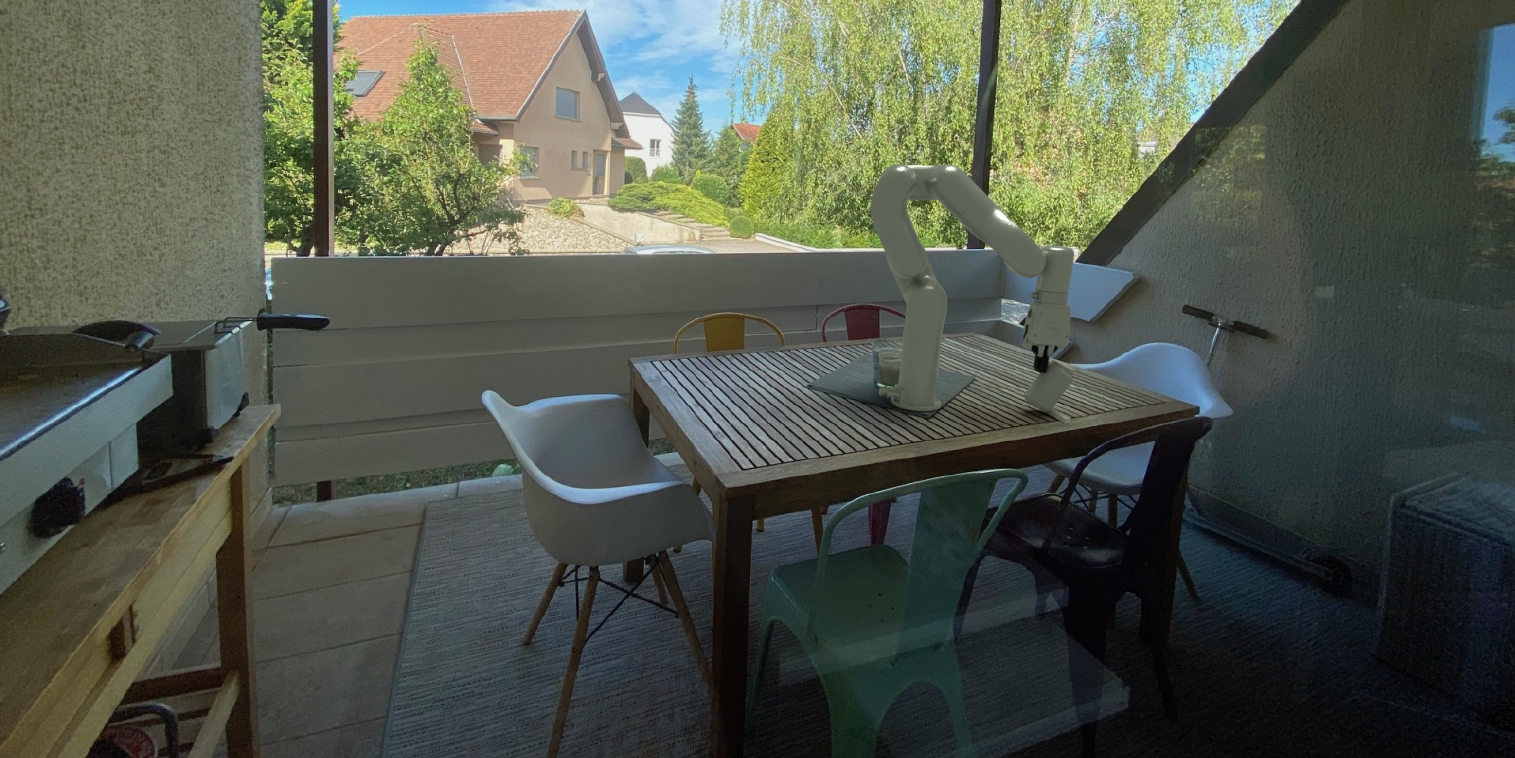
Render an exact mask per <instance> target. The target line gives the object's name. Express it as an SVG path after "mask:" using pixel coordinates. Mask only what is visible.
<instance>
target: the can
mask: <svg viewBox="0 0 1515 758" xmlns="http://www.w3.org/2000/svg"><path fill="white" fill-rule="evenodd" d="M1074 376H1075V373H1074V372H1073V371H1071V370H1070V369H1069V368H1067V367H1066V366H1064V365H1063V364H1062V363H1060V362H1058V361H1055V360H1051V362H1049V364H1048V368H1047V371H1046V373H1043V372H1042V373H1039V372H1038V374H1037V376H1036V377H1035V379H1034V380H1033V382H1032V383H1031V384H1030V385H1029V387H1028V388H1027V389H1026V391H1025V392H1024V394H1023V397H1024V401H1026V402H1028V403H1029V404H1030V405H1032V406H1033V407H1035V408H1036V409H1038V410H1039V411H1041V412H1043V413H1047V412H1050V411H1051V410H1052V408H1054V407H1055V405H1056V404H1057V403H1058V401H1059V400H1060V399H1061V398H1062V396H1063V395H1064V393H1065V392H1066V391H1067V390H1068V388H1069V387H1070V386H1071V384H1073V382H1074V378H1073V377H1074Z"/></svg>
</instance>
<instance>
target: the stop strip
mask: <svg viewBox="0 0 1515 758" xmlns="http://www.w3.org/2000/svg"><path fill="white" fill-rule="evenodd" d="M1046 414H1048V415H1050V416H1052V417H1053V418H1055V419H1056V420H1058V421H1059V422H1061V423H1063V424H1065V425H1067V424H1069V425H1071V424H1072V418H1070V417H1069V416H1067V415H1066V414H1064V413H1062V412H1061V411H1059V410H1057V409H1055V408H1054V407H1053V408H1052V410H1051V411H1050V412H1046Z"/></svg>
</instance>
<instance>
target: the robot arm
mask: <svg viewBox="0 0 1515 758" xmlns="http://www.w3.org/2000/svg"><path fill="white" fill-rule="evenodd" d="M870 200H871V201H870V216H871V221H872V223H873V226H874V229H875V231H876V234H877V236H878V238H879V242H880V244H881V246H882V248H883V250H884V253H885V255H886V261H887V265H888V267H889V270H890V271H891V273H892V276H893V278H894V280H895V283H896V284H897V287H898V289H899V291H900V293H901V296H902V297H903V299H904V302H905V303H906V310H905V311H906V312H905V318H904V325H903V333H902V342H901V343H902V345H901V354H900V355H901V356H900V357H901V358H900V365H899V366H900V367H899V375H898V383H894V387H893V386H892V387H890V388H887V387H880V388H879V389H878V395H879V396H880V397H881V396H883V397H885V396H886V398H890V403H891V404H892V405H893V406H895V407H898V408H900V409H904V410H908V411H913V412H914V411H916V412H933V411H937V410H939V409H940V408H941V407H942V402H941V400H939V399H938V398H936V396H937V388H938V378H939V369H940V368H939V367H940V360H941V353H942V352H941V351H942V342H943V335H944V328H945V327H944V326H945V322H946V317H947V311H948V297H947V296H948V295H947V293H946V291H945V289H944V287H943V286H942V285H941V284H940V283H939V281H938V280H937V276H936V275H935V272H934V271H933V269H932V268H933V267H932V266H931V264H930V262H929V260H928V258H929V257H928V253H927V251H926V248H925V247H924V246H923V244H922V242H921V240H920V239H919V236H918V233H917V232H916V230H915V227H914V225H913V222H912V220H911V218H910V215H909V212H908V201H938V202H940V204H942V206H944V208H946V210H948V211H949V213H950V214H952V215H953V217H954V218H956V219H957V220H958V221H959V222H960V224H961V225H963V226H964V227H965V228H966V230H967V231H968V232H969V233H971V234H972V235H973V236H974V237H976V238H977V239H979V240H980V241H982V242H983V243H985V244H986V245H988V247H990V248H991V249H992V250H993V251H994V252H995V253H996V254H998V256H1000V258H1001V259H1002V260H1004V264H1005V266H1006V268H1007V269H1008V270H1009V271H1010V272H1012V273H1014V274H1015V275H1016V276H1017V275H1018V276H1019V277H1021V278H1024V279H1032V278H1035V277H1036V283H1035V289H1034V291H1033V292H1030V293H1029V298H1030V299H1033V301H1031V303H1030V305H1029V307H1028V309H1027V314H1026V318H1025V320H1024V321H1025V322H1024V327H1023V333H1022V339H1023V342H1022V345H1021V346H1022V347H1023V348H1025V349H1027V350H1031V352H1032V353H1033V355H1034V361H1033V370H1034V371H1035V372H1037V373H1038V374H1039V373H1042V372H1043V373H1046V371H1047V368H1048V364H1049V363H1050V358H1051V357H1053V354H1055V353H1056V352H1057V351H1058V350H1063V349H1065V348H1066V345H1068V343H1069V340H1070V335H1071V320H1072V319H1071V318H1072V316H1071V314H1072V313H1071V305H1070V304H1068V299H1069V292H1070V286H1071V279H1072V272H1073V266H1074V259H1075V251H1074V249H1073V248H1071V247H1068V246H1061V245H1046V246H1043V245H1038V244H1037V243H1036V242H1035V241H1034V240H1033V239H1032V238H1031V237H1030V236H1029V235H1028V234H1027V233H1026V232H1025V231H1024V230H1023V229H1022V228H1021V227H1019V225H1018V224H1017V223H1016V222H1015V221H1013V220H1012V219H1011V218H1010V216H1008V215H1007V213H1005V211H1003V210H1002V209H1001V207H999V206H998V205H997V204H996V203H995V202H994V200H992V199H991V197H989V195H987V193H985V192H984V191H983V190H982V189H981V188H980V187H979V186H978V185H977V184H976V182H975V181H973V179H971V177H969V175H968V174H967V173H966V172H964V170H963V169H961V168H960V167H959V166H957V165H954V164H950V163H949V164H937V165H932V164H931V165H919V164H917V165H916V164H914V165H910V164H901V163H897V164H893V165H890V166H889V167H886V169H884V171H883V172H882V173H881V175H880V177H879V180H878V182H877V184H876V185H875V187H874V189H873V192H872V195H871V199H870ZM932 410H933V411H932Z"/></svg>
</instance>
